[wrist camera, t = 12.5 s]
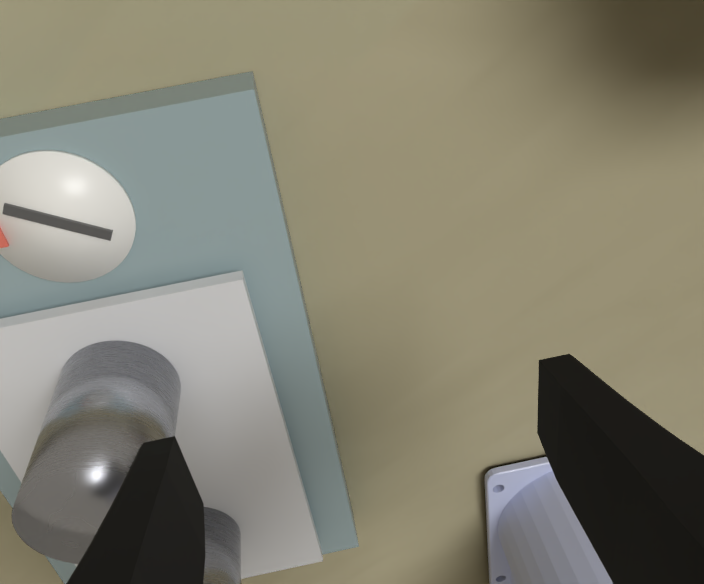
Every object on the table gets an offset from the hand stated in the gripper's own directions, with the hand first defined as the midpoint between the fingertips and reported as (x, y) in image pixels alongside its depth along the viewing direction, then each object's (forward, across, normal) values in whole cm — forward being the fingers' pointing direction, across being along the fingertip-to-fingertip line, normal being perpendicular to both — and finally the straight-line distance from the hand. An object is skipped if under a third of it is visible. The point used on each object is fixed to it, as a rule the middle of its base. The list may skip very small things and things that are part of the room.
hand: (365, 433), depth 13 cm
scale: (+10, +7, +6) cm, 13 cm away
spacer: (+7, +7, +3) cm, 11 cm away
